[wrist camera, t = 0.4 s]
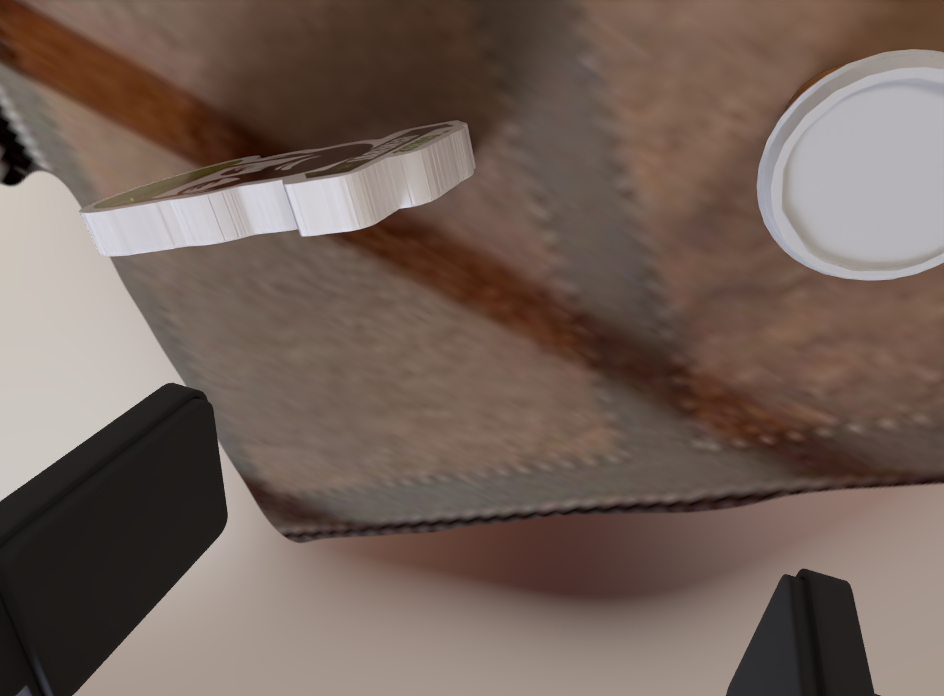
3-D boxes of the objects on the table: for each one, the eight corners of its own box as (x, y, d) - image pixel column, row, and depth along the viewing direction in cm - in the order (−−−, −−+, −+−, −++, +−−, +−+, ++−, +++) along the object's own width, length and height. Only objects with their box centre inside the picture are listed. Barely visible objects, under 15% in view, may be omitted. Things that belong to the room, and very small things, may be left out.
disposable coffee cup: (751, 45, 36) (761, 72, 26) (960, 14, 32) (1064, 32, 22) (746, 214, 40) (755, 293, 30) (931, 203, 37) (1008, 288, 27)
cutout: (413, 164, 31) (21, 230, 38) (427, 220, 32) (43, 273, 40) (486, 112, 43) (181, 169, 51) (494, 153, 45) (195, 203, 52)
